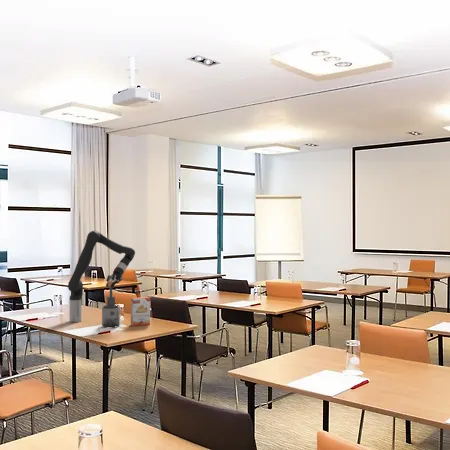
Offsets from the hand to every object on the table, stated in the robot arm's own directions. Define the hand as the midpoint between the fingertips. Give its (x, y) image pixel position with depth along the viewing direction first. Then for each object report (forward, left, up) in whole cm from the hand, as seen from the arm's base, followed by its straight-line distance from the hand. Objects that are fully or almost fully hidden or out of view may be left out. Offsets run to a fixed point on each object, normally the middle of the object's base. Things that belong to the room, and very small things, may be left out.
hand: (109, 286), depth 401 cm
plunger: (-1, +1, -9) cm, 9 cm away
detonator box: (+1, +1, -30) cm, 30 cm away
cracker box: (+2, +23, -30) cm, 38 cm away
